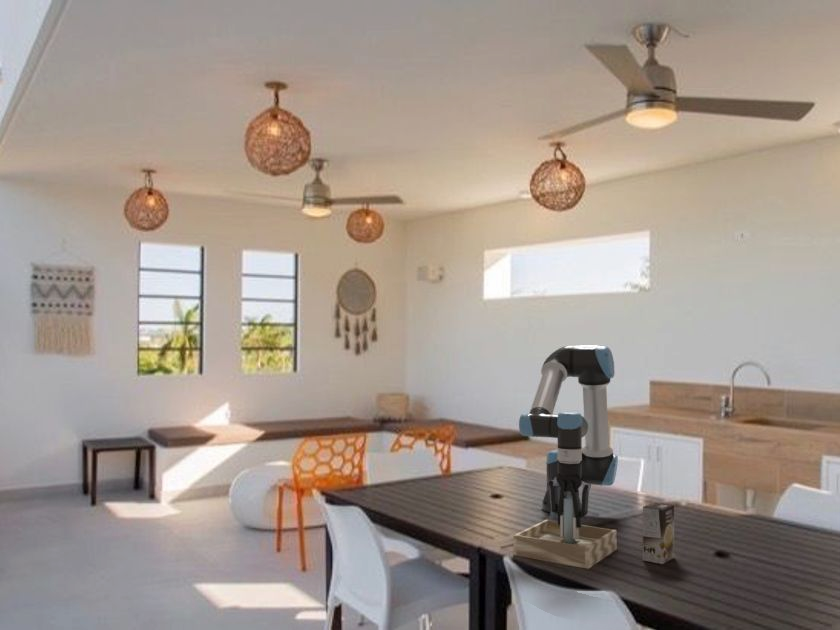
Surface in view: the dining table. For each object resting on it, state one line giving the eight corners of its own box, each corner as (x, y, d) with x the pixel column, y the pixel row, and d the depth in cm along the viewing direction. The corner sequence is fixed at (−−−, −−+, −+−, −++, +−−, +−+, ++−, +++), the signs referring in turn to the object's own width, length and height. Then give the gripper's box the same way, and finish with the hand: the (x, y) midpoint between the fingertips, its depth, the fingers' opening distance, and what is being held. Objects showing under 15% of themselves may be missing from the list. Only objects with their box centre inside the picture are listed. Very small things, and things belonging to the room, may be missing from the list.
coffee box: (663, 564, 222) (662, 509, 223) (642, 560, 226) (642, 506, 227) (674, 557, 229) (674, 504, 230) (654, 554, 233) (654, 501, 234)
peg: (566, 541, 240) (566, 496, 240) (577, 542, 238) (577, 498, 238) (561, 543, 237) (561, 498, 237) (572, 545, 235) (572, 500, 235)
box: (546, 537, 251) (546, 519, 252) (616, 549, 238) (616, 530, 238) (513, 554, 232) (513, 535, 232) (588, 568, 218) (588, 547, 218)
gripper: (540, 460, 240) (540, 535, 239) (590, 465, 230) (590, 543, 230) (550, 457, 246) (549, 530, 245) (599, 462, 237) (599, 538, 236)
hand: (569, 536), depth 237 cm, fingers closed on peg, 3 cm apart
